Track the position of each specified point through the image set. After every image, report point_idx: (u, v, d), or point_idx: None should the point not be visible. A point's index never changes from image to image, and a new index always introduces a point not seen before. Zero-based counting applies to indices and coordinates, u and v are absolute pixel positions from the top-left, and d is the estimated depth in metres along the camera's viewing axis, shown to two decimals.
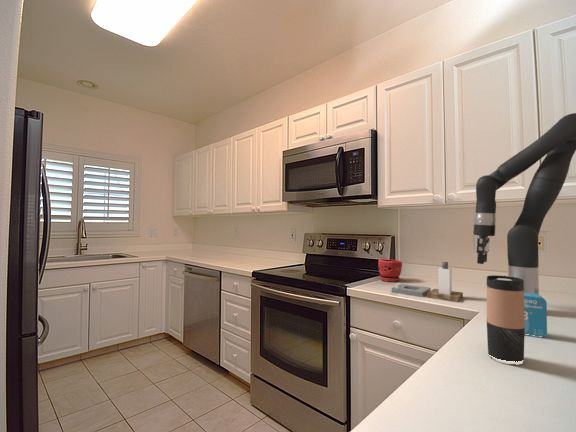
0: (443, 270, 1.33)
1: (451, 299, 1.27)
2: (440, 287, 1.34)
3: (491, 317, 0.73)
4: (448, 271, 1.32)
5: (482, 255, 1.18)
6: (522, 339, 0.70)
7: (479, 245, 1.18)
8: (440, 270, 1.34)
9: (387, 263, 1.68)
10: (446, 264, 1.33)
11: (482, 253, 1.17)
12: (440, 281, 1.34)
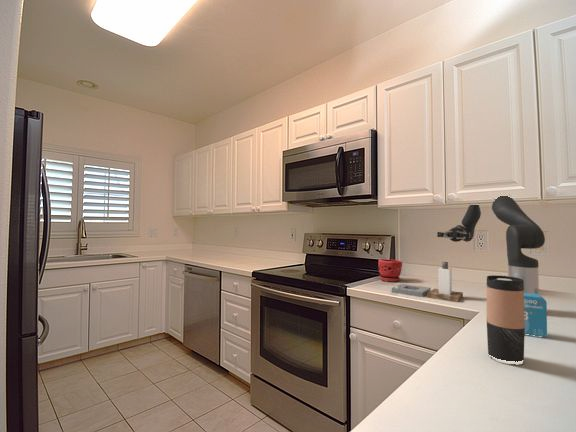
0: (443, 270, 1.33)
1: (451, 299, 1.27)
2: (440, 287, 1.34)
3: (491, 317, 0.73)
4: (448, 271, 1.32)
5: (440, 233, 1.50)
6: (522, 339, 0.70)
7: None
8: (440, 270, 1.34)
9: (387, 263, 1.68)
10: (446, 264, 1.33)
11: (437, 233, 1.52)
12: (440, 281, 1.34)
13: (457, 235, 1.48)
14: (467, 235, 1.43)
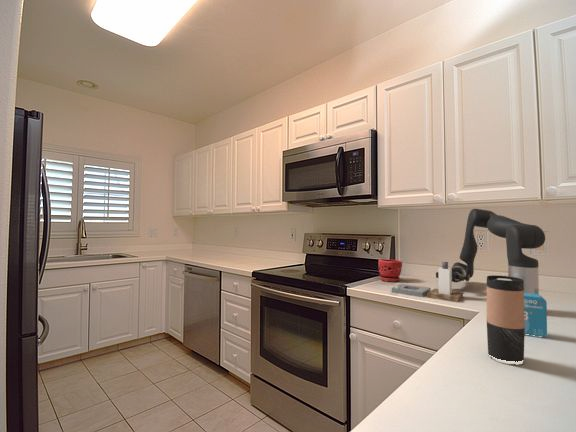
0: (443, 270, 1.33)
1: (451, 299, 1.27)
2: (440, 287, 1.34)
3: (491, 317, 0.73)
4: (448, 271, 1.32)
5: None
6: (522, 339, 0.70)
7: None
8: (440, 270, 1.34)
9: (387, 263, 1.68)
10: (446, 264, 1.33)
11: (436, 273, 1.49)
12: (440, 281, 1.34)
13: (456, 277, 1.44)
14: (466, 278, 1.40)
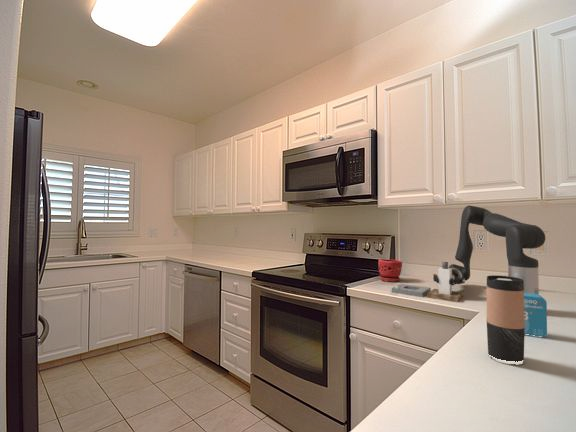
0: (443, 270, 1.33)
1: (451, 299, 1.27)
2: (440, 287, 1.34)
3: (491, 317, 0.73)
4: (448, 271, 1.32)
5: (437, 277, 1.37)
6: (522, 339, 0.70)
7: (433, 278, 1.42)
8: (440, 270, 1.34)
9: (387, 263, 1.68)
10: (446, 264, 1.33)
11: (434, 277, 1.39)
12: (440, 281, 1.34)
13: None
14: (457, 281, 1.33)
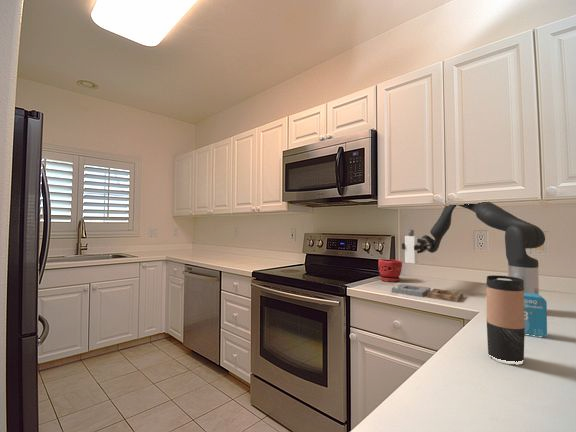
0: (409, 237, 1.43)
1: (451, 299, 1.27)
2: (406, 253, 1.44)
3: (491, 317, 0.73)
4: (413, 238, 1.42)
5: (404, 245, 1.48)
6: (522, 339, 0.70)
7: None
8: (406, 237, 1.44)
9: (387, 263, 1.68)
10: (412, 231, 1.44)
11: None
12: (406, 247, 1.44)
13: None
14: (422, 247, 1.43)
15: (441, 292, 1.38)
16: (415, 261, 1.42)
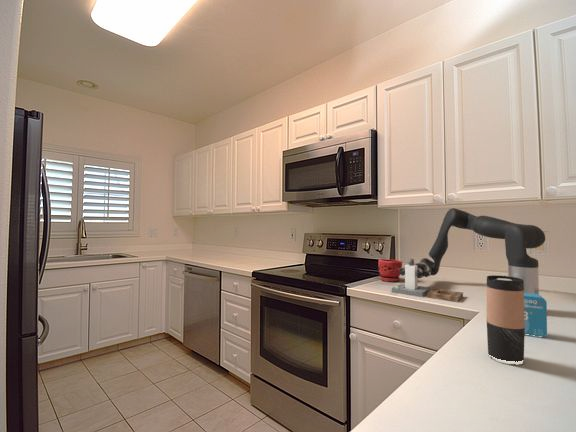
0: (409, 267, 1.43)
1: (451, 299, 1.27)
2: (406, 282, 1.43)
3: (491, 317, 0.73)
4: (413, 267, 1.41)
5: (402, 270, 1.48)
6: (522, 339, 0.70)
7: None
8: (406, 267, 1.44)
9: (387, 263, 1.68)
10: (412, 261, 1.43)
11: None
12: (407, 276, 1.43)
13: None
14: (425, 274, 1.42)
15: (441, 292, 1.38)
16: None
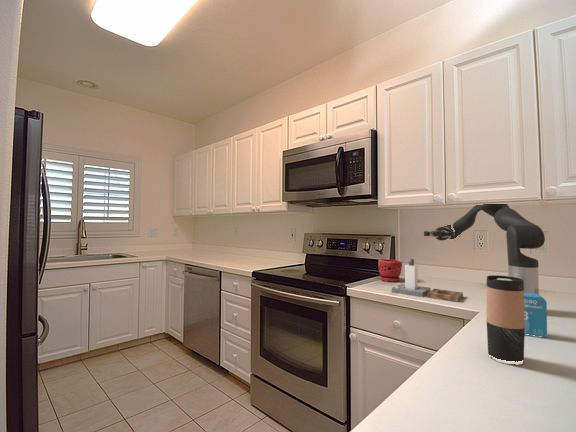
0: (409, 267, 1.43)
1: (451, 299, 1.27)
2: (406, 282, 1.43)
3: (491, 317, 0.73)
4: (413, 267, 1.41)
5: None
6: (522, 339, 0.70)
7: None
8: (406, 267, 1.44)
9: (387, 263, 1.68)
10: (412, 261, 1.43)
11: (424, 232, 1.61)
12: (407, 276, 1.43)
13: (442, 234, 1.57)
14: (451, 234, 1.52)
15: (441, 292, 1.38)
16: None
